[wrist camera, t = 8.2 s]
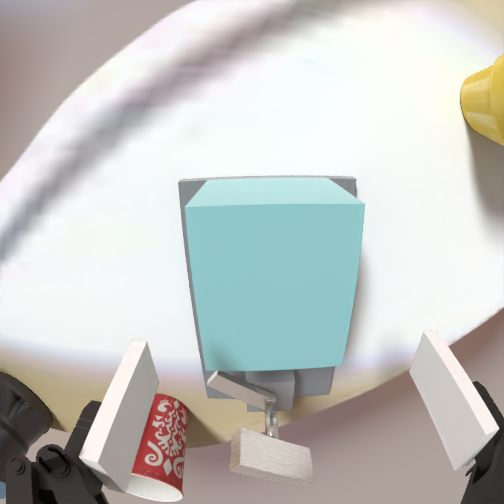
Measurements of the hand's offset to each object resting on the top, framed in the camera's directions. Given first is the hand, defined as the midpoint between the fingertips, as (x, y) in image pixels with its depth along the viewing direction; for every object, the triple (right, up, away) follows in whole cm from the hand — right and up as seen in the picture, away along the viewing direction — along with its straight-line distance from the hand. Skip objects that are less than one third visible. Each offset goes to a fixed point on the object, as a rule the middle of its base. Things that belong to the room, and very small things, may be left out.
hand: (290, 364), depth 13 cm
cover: (0, +3, +15) cm, 15 cm away
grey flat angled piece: (-1, -10, +16) cm, 19 cm away
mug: (-15, -15, +24) cm, 32 cm away
